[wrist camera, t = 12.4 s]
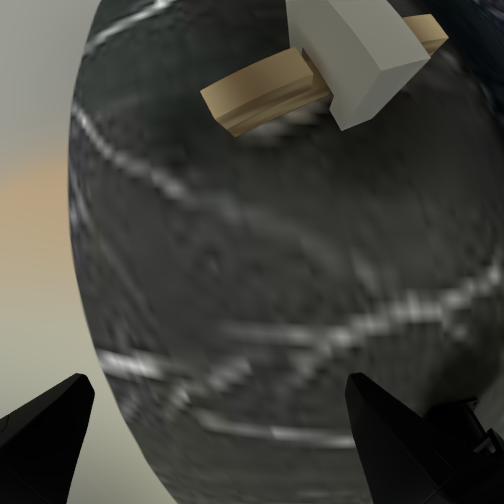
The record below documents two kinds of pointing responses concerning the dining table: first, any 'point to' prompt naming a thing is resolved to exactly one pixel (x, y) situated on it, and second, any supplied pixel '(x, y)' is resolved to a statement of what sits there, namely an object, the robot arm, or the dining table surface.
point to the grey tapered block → (356, 52)
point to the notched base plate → (286, 83)
